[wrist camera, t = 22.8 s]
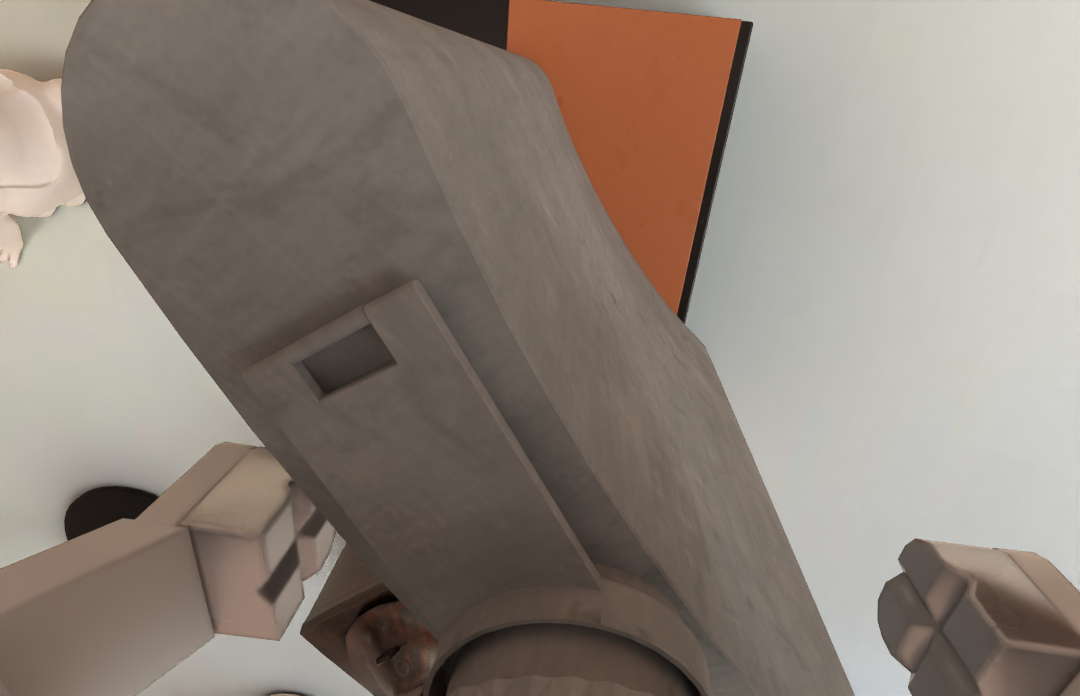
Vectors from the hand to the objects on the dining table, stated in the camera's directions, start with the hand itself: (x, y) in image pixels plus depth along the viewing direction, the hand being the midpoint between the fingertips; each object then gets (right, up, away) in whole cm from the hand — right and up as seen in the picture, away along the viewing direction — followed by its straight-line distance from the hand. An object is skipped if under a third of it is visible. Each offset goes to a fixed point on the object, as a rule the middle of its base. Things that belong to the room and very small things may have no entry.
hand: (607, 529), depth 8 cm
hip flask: (+1, +7, +15) cm, 16 cm away
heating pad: (+1, +7, +15) cm, 16 cm away
